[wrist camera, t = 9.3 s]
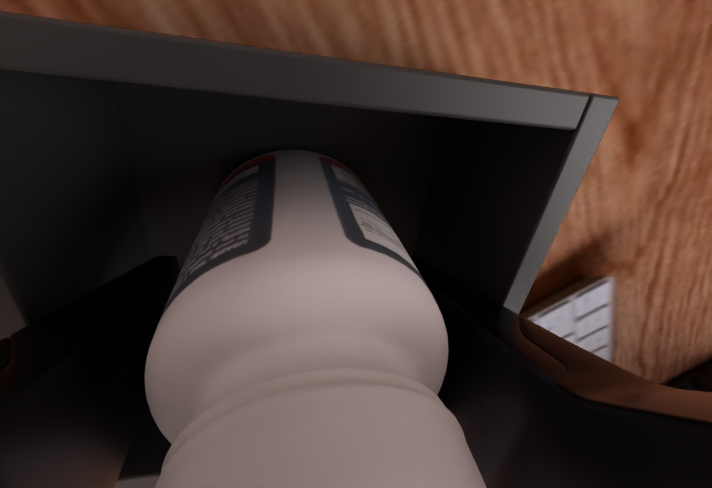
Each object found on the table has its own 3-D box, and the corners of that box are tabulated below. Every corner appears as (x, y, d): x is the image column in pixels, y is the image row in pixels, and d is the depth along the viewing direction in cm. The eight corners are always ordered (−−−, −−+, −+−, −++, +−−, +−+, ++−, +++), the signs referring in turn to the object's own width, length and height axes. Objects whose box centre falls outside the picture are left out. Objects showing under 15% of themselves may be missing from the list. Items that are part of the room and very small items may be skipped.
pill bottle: (221, 291, 12) (111, 718, 4) (200, 142, 9) (-178, 556, 2) (365, 284, 13) (482, 615, 5) (382, 150, 10) (653, 419, 3)
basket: (464, 75, 10) (622, 97, 5) (402, 322, 15) (457, 446, 10) (84, 23, 8) (-212, -19, 3) (157, 333, 13) (84, 498, 8)
